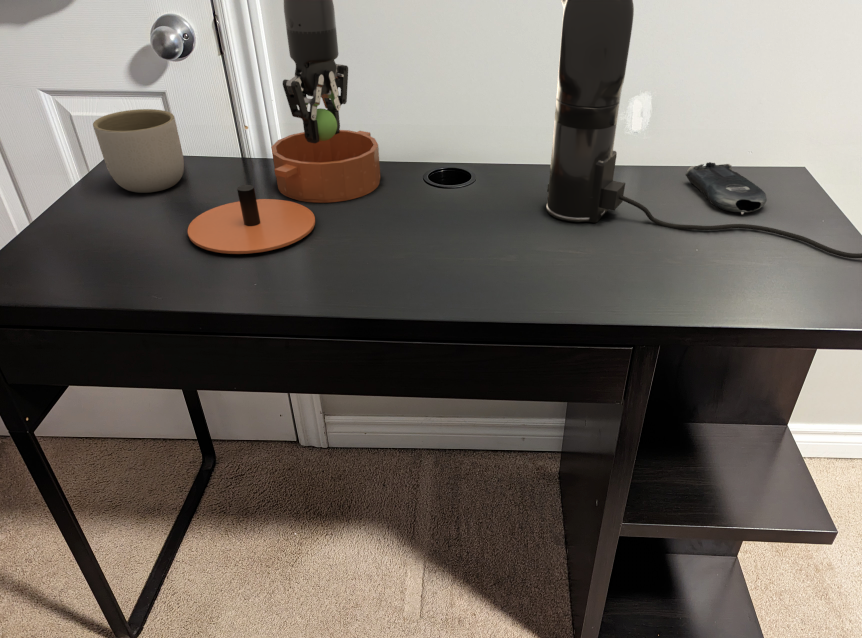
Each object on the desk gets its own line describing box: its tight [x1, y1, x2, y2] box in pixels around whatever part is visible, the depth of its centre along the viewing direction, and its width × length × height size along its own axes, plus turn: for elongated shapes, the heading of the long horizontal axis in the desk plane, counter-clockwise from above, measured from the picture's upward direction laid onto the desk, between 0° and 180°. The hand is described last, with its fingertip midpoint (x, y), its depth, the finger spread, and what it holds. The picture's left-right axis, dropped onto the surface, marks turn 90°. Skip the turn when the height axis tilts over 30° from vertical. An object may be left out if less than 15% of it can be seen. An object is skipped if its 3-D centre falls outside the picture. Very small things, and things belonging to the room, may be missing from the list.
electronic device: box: [684, 161, 767, 215], centre depth 114 cm, size 9×6×15 cm
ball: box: [316, 107, 337, 141], centre depth 113 cm, size 5×5×5 cm
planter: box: [92, 108, 185, 194], centre depth 115 cm, size 12×12×11 cm
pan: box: [271, 129, 381, 204], centre depth 117 cm, size 18×23×6 cm
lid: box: [187, 184, 316, 255], centre depth 102 cm, size 19×19×7 cm
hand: (323, 137), depth 114 cm, fingers closed on ball, 5 cm apart
